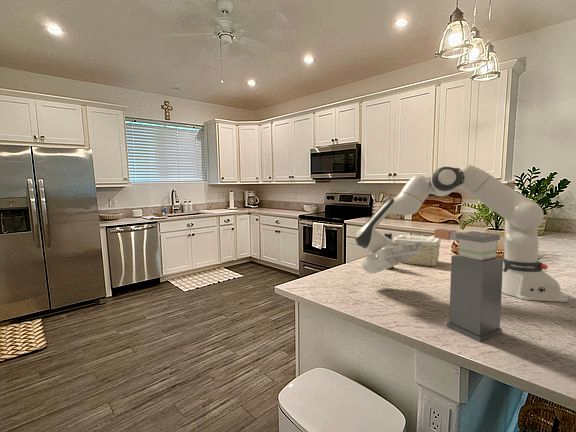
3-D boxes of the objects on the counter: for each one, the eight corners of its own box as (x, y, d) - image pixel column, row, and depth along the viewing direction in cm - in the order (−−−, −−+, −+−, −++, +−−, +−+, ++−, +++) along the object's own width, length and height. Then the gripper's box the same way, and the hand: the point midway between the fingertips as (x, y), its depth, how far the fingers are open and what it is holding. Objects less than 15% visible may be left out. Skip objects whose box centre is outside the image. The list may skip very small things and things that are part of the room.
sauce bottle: (384, 265, 173) (385, 231, 171) (395, 267, 169) (396, 232, 167) (380, 268, 168) (380, 233, 166) (391, 270, 164) (391, 234, 162)
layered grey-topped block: (496, 309, 94) (500, 234, 92) (479, 314, 91) (483, 237, 88) (444, 291, 111) (446, 227, 108) (428, 295, 107) (429, 229, 105)
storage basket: (391, 262, 180) (392, 238, 179) (399, 256, 194) (400, 234, 192) (435, 268, 166) (436, 241, 165) (440, 261, 180) (441, 237, 178)
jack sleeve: (502, 333, 95) (506, 258, 92) (480, 342, 90) (483, 263, 87) (468, 319, 105) (470, 251, 102) (446, 326, 100) (449, 255, 97)
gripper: (367, 252, 125) (389, 240, 114) (403, 246, 134) (427, 235, 123) (372, 266, 123) (395, 256, 111) (409, 260, 132) (433, 249, 120)
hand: (412, 245), depth 117 cm, fingers open, 8 cm apart
